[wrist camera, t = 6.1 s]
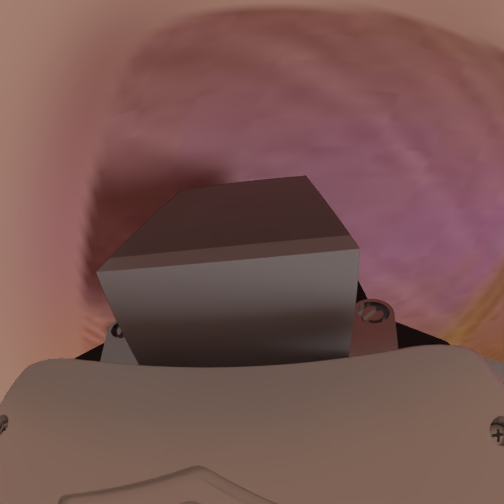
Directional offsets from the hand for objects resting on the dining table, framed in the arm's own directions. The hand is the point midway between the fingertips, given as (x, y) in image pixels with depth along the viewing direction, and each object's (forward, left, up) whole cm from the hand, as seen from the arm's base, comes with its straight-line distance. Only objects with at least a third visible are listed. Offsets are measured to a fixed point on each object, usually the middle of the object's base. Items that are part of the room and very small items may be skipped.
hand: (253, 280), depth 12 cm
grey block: (0, 0, -1) cm, 1 cm away
